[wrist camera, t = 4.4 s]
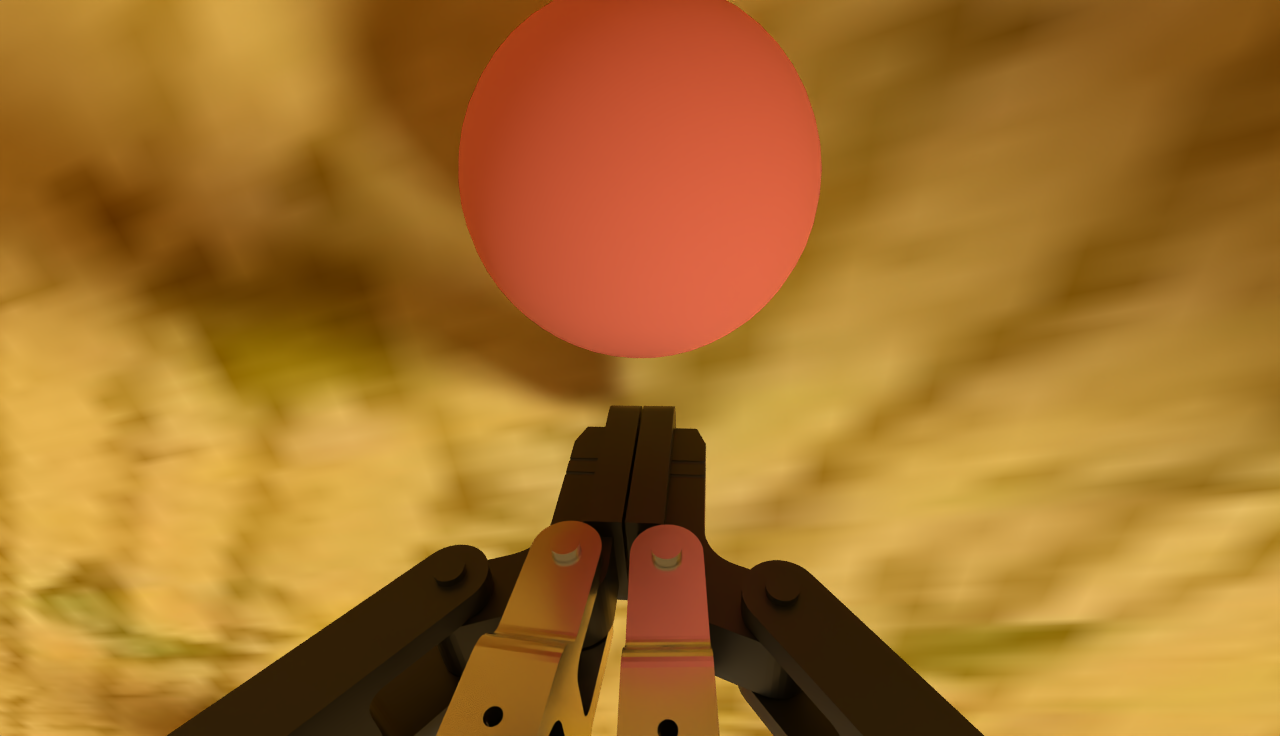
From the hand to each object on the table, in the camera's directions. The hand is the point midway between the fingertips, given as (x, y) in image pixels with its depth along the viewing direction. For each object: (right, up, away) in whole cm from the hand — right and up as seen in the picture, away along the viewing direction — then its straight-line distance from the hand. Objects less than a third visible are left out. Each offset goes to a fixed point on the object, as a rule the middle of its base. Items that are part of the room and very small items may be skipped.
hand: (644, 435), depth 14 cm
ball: (0, +5, -5) cm, 6 cm away
